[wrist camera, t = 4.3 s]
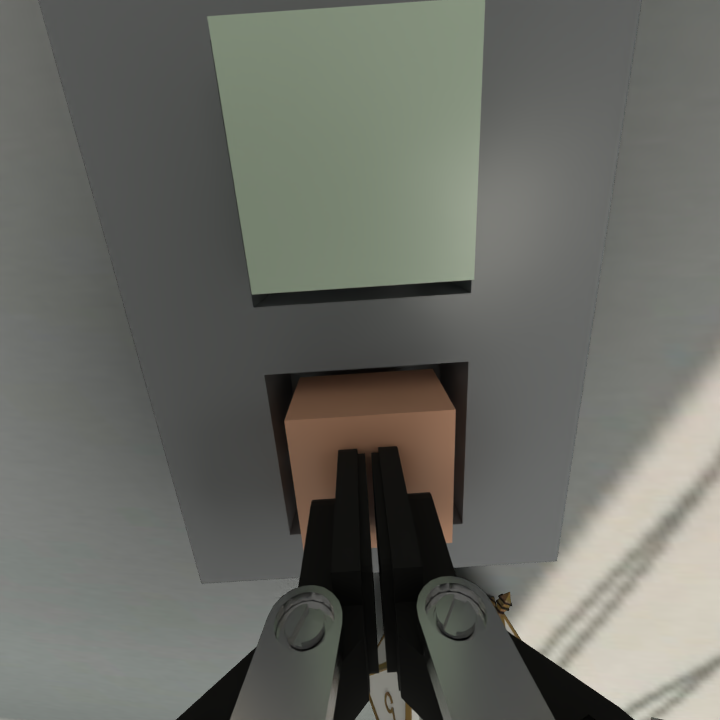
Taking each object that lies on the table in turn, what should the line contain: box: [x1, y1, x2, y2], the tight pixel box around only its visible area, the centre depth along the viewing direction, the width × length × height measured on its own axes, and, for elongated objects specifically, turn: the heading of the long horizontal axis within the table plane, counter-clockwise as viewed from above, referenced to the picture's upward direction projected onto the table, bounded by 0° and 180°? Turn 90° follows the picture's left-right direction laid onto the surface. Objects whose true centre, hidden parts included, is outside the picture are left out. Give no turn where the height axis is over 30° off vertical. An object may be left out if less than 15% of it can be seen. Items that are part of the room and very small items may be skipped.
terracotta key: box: [284, 369, 456, 550], centre depth 12 cm, size 4×4×3 cm
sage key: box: [207, 0, 485, 295], centre depth 8 cm, size 4×4×3 cm
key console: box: [38, 0, 642, 584], centre depth 11 cm, size 26×13×4 cm, turn 4°
